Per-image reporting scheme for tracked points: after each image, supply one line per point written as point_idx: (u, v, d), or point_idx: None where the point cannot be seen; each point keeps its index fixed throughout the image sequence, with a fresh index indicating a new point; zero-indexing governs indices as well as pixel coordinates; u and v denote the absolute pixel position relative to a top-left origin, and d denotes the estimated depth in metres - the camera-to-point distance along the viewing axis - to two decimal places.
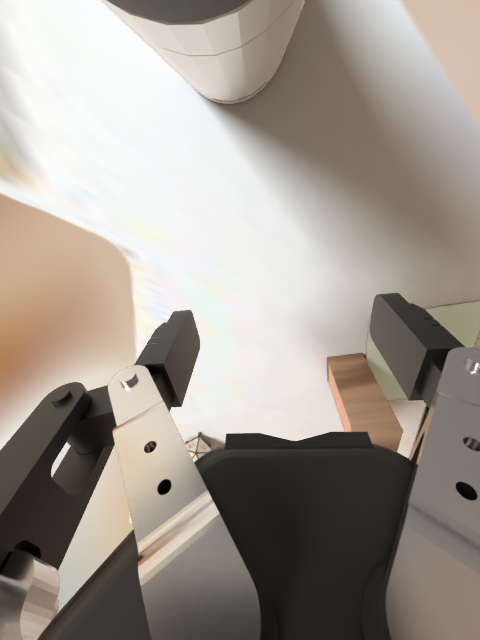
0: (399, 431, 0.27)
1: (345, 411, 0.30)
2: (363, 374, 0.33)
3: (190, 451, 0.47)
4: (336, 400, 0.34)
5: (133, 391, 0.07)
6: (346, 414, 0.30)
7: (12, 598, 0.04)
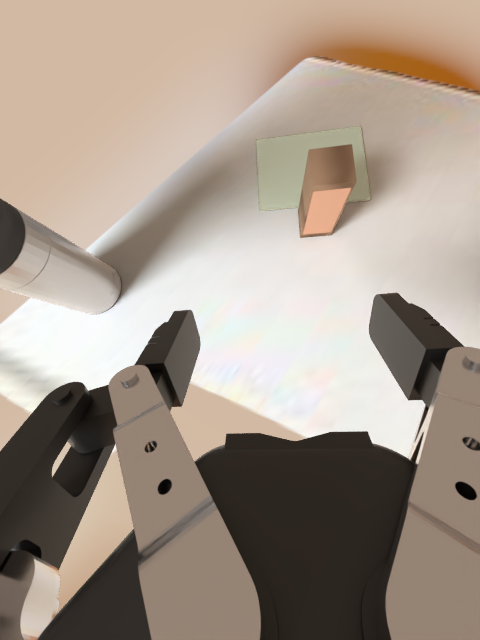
0: (310, 151, 0.30)
1: (310, 202, 0.32)
2: (301, 201, 0.38)
3: None
4: (327, 217, 0.35)
5: (134, 391, 0.07)
6: (311, 200, 0.31)
7: (12, 597, 0.04)
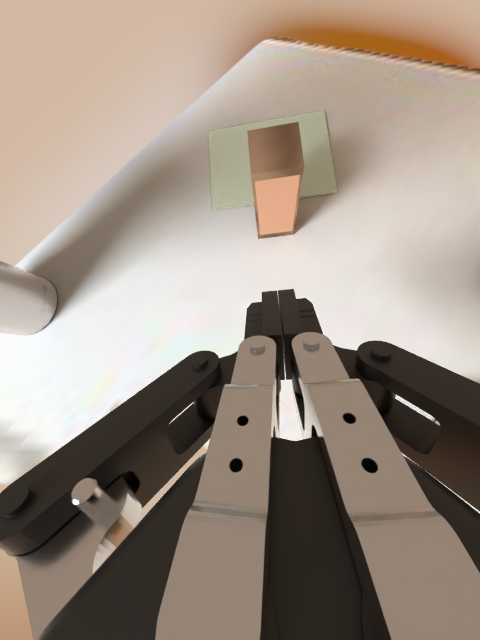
0: (248, 133, 0.24)
1: (256, 195, 0.26)
2: None
3: None
4: (282, 213, 0.30)
5: (256, 360, 0.07)
6: (256, 193, 0.26)
7: (104, 519, 0.05)
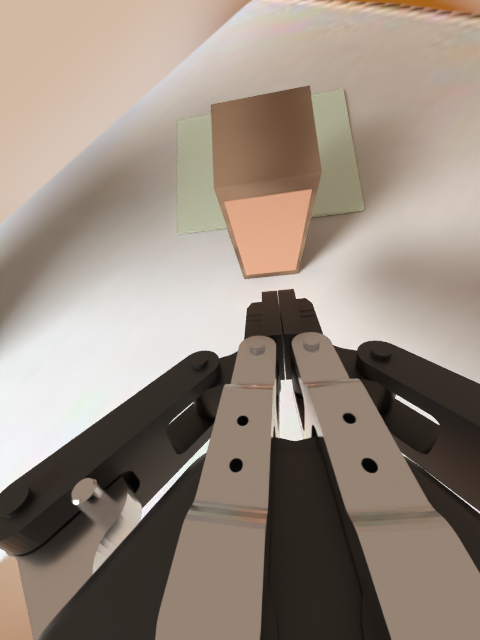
0: (213, 109, 0.13)
1: (231, 224, 0.15)
2: None
3: None
4: (279, 248, 0.18)
5: (256, 360, 0.07)
6: (230, 220, 0.14)
7: (104, 519, 0.05)
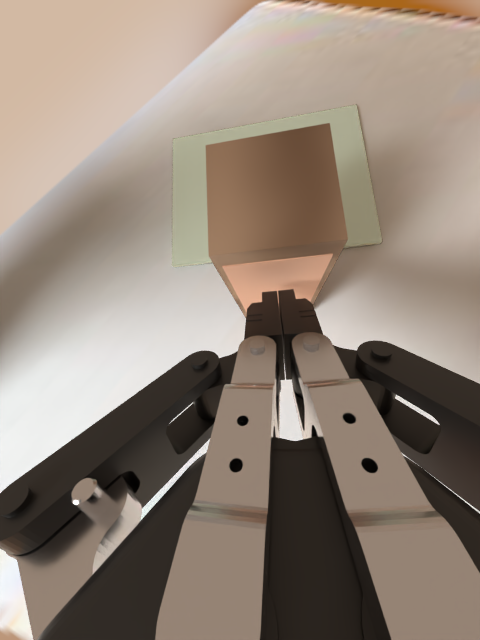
0: (208, 150, 0.10)
1: (231, 283, 0.12)
2: None
3: None
4: None
5: (256, 360, 0.07)
6: (230, 280, 0.12)
7: (104, 519, 0.05)
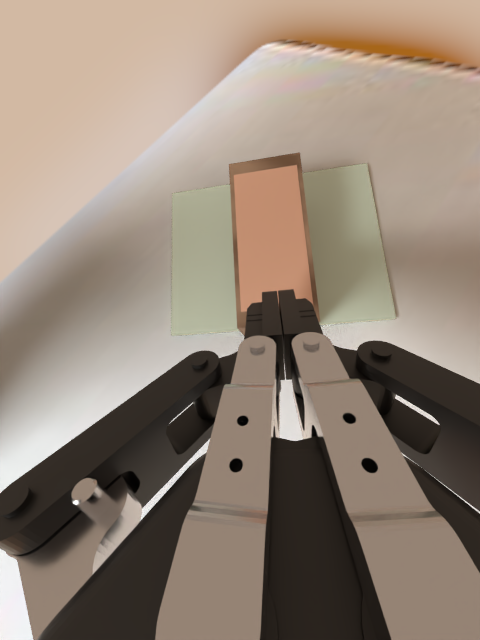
0: None
1: (235, 200, 0.17)
2: None
3: None
4: (281, 243, 0.16)
5: (256, 360, 0.07)
6: (235, 195, 0.17)
7: (104, 519, 0.05)
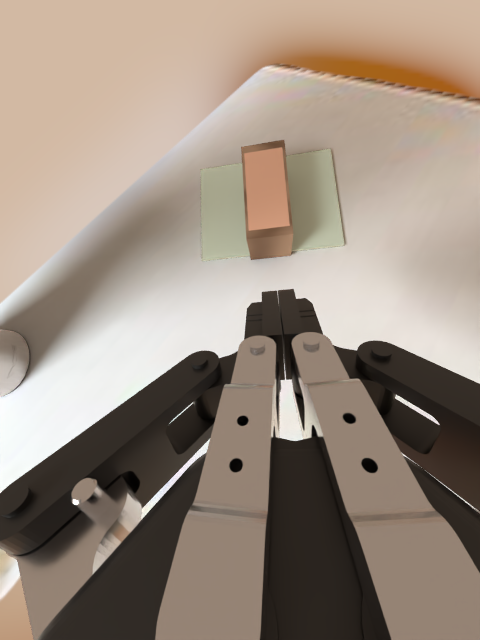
0: None
1: (245, 168, 0.28)
2: None
3: None
4: (272, 192, 0.27)
5: (256, 360, 0.07)
6: (245, 165, 0.29)
7: (104, 519, 0.05)
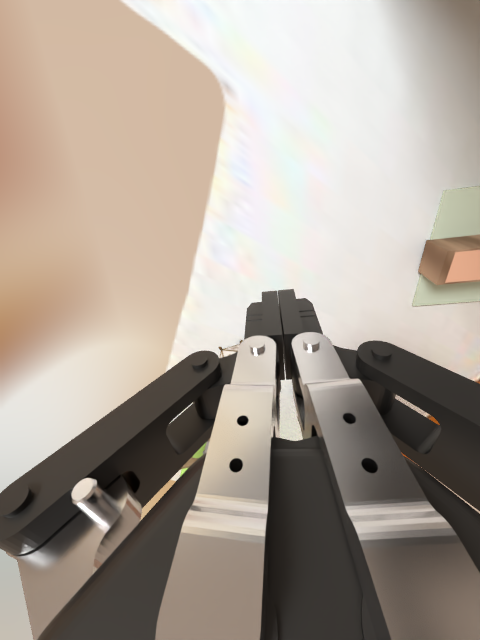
0: None
1: None
2: (460, 239, 0.35)
3: (235, 351, 0.46)
4: None
5: (256, 360, 0.07)
6: None
7: (104, 519, 0.05)
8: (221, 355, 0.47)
